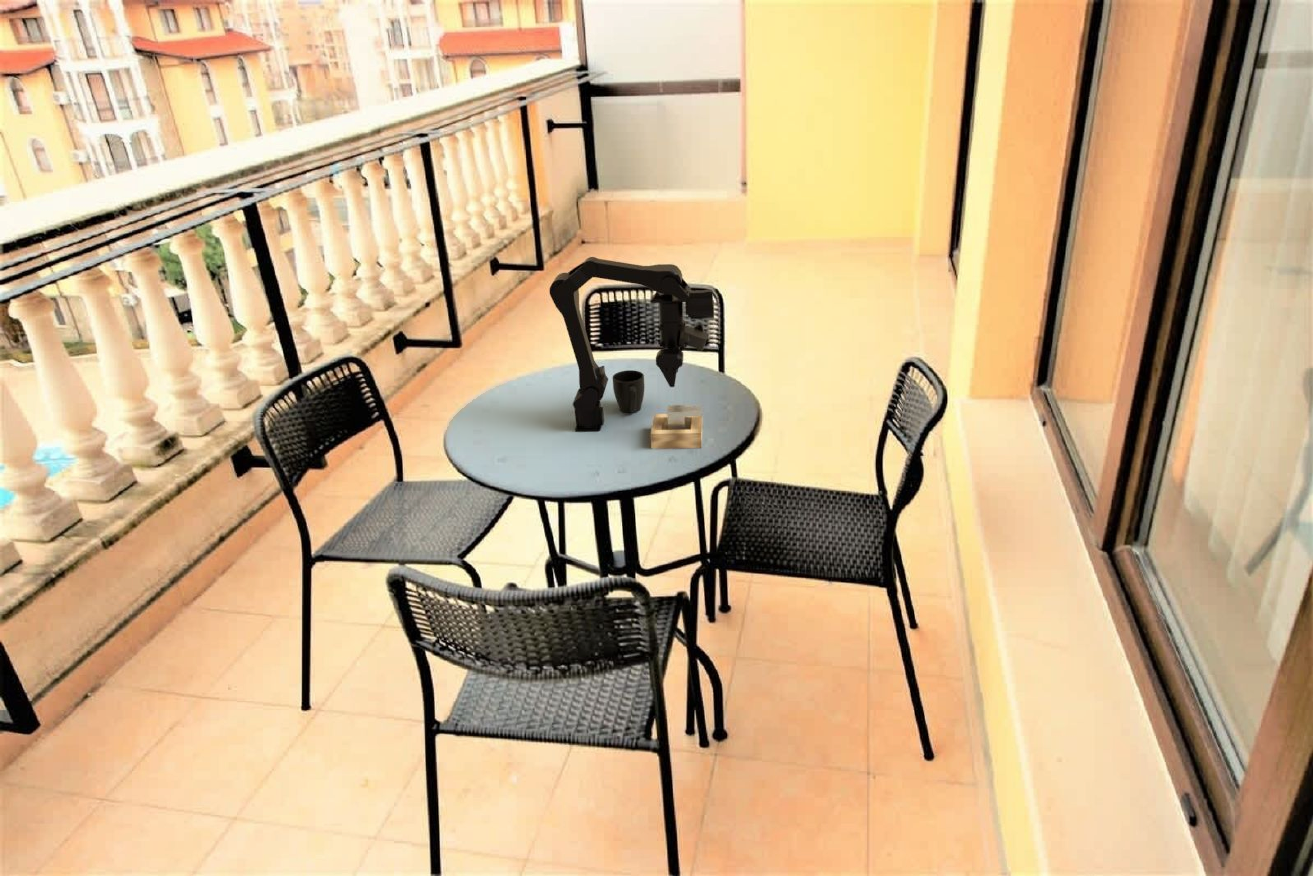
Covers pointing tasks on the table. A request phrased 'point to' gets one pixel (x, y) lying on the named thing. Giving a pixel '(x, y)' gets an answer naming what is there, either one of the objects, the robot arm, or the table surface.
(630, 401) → the mug
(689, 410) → the bracket
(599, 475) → the table surface
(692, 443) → the well block
